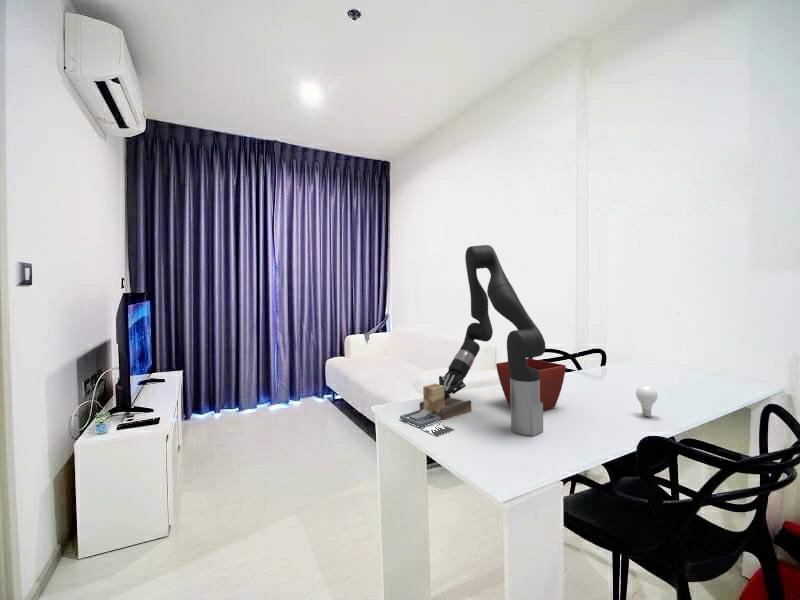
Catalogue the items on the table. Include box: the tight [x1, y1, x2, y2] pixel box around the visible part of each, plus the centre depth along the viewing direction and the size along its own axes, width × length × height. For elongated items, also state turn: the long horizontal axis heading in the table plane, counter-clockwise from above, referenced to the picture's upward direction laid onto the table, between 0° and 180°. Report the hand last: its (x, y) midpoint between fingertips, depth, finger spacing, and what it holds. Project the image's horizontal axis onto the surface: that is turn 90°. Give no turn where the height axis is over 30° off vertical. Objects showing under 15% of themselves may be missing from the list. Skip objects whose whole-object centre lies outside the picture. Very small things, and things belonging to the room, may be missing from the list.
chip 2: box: [418, 408, 433, 420], centre depth 133 cm, size 4×4×2 cm
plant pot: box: [495, 358, 567, 411], centre depth 144 cm, size 19×19×17 cm
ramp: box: [419, 394, 472, 421], centre depth 140 cm, size 12×16×4 cm
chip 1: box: [409, 414, 425, 422], centre depth 131 cm, size 4×4×2 cm
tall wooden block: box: [422, 383, 445, 411], centre depth 136 cm, size 5×6×8 cm
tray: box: [399, 409, 441, 428], centre depth 132 cm, size 11×10×2 cm
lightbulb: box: [635, 385, 658, 418], centre depth 129 cm, size 6×6×11 cm
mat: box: [426, 422, 455, 437], centre depth 122 cm, size 8×8×1 cm
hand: (441, 400), depth 138 cm, fingers closed
